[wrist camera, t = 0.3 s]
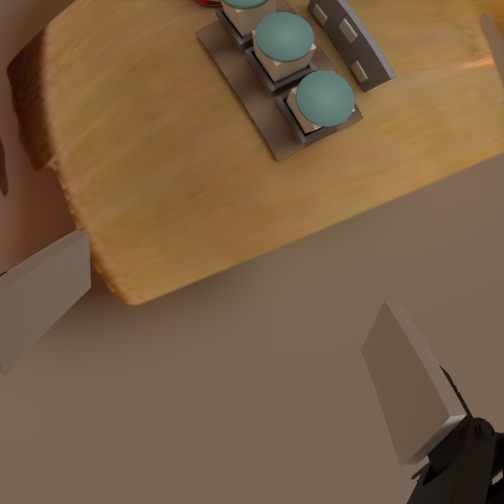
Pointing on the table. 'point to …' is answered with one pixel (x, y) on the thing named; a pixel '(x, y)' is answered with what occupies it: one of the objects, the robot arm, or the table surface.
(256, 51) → the plunger mid
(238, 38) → the console
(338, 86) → the plunger
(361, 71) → the placard
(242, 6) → the plunger
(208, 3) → the soda can
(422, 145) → the table surface
